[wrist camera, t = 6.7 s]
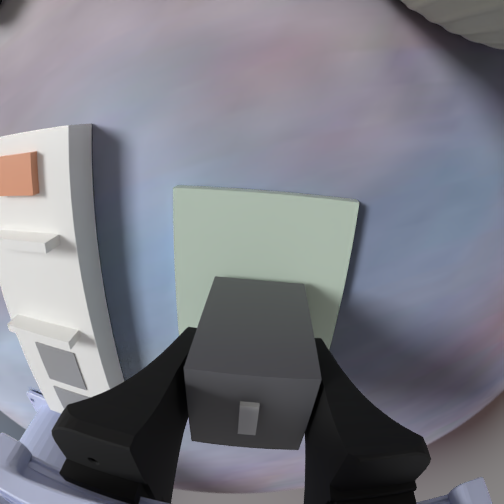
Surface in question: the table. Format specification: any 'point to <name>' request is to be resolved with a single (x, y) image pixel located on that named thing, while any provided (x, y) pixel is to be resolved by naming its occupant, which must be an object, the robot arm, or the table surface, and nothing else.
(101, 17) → the table surface
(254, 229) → the mat
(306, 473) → the robot arm
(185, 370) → the block
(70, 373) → the power strip
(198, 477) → the table surface
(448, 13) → the canister
